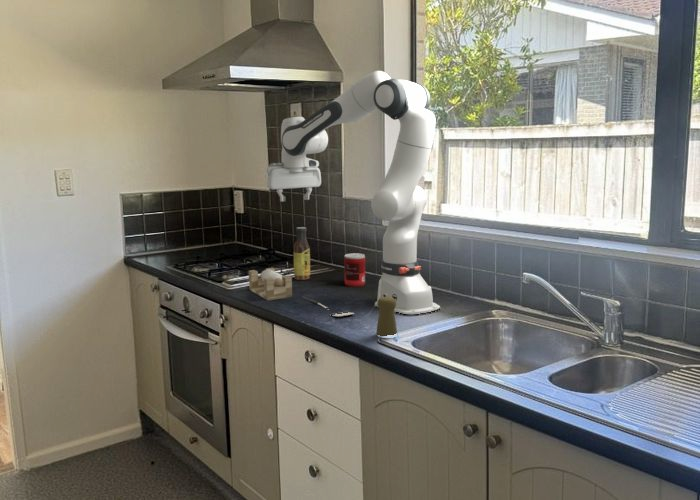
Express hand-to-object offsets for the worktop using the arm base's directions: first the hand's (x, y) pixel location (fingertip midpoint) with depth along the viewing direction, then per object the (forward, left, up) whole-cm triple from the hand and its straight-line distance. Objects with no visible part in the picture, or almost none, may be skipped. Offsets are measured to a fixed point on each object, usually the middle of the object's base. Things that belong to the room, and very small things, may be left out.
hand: (294, 200), depth 244 cm
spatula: (-33, +6, -32) cm, 46 cm away
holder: (-8, +14, -31) cm, 35 cm away
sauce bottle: (+6, -5, -31) cm, 32 cm away
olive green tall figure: (-69, +4, -31) cm, 76 cm away
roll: (-8, +15, -28) cm, 32 cm away
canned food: (-12, -18, -31) cm, 38 cm away
